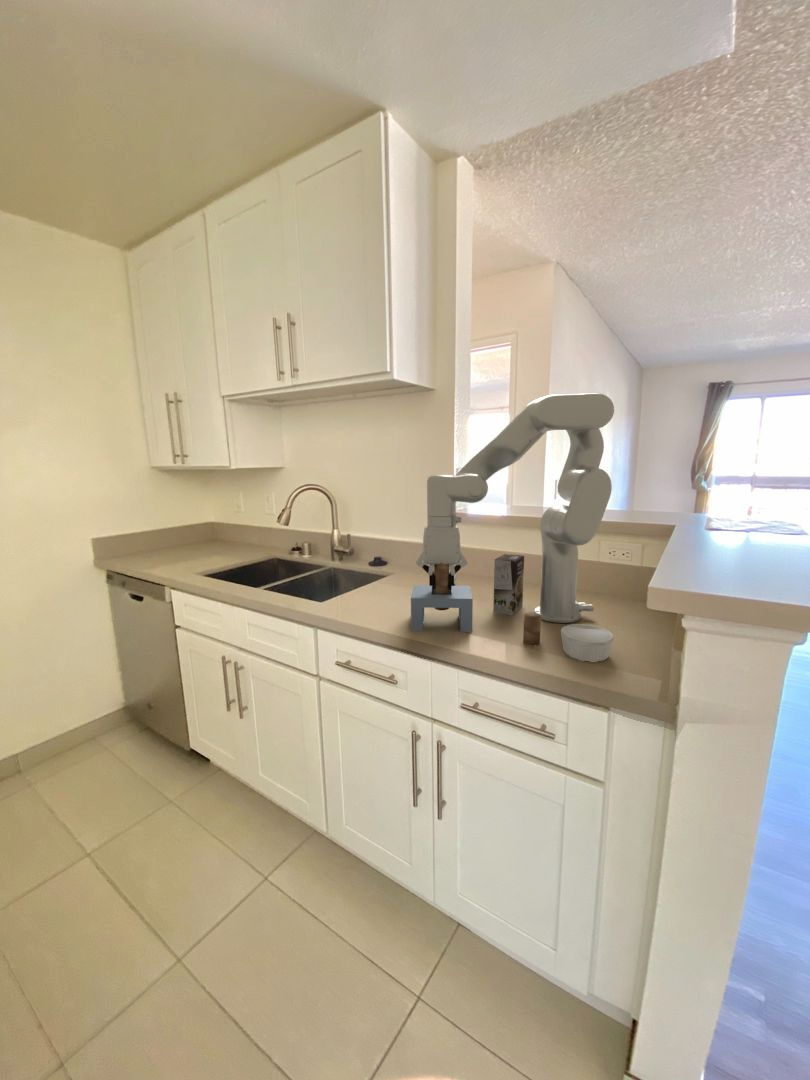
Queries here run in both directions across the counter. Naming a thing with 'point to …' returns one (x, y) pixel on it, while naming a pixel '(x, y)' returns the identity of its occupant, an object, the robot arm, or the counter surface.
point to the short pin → (532, 628)
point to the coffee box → (508, 584)
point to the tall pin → (441, 580)
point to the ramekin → (586, 642)
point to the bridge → (441, 605)
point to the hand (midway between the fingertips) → (441, 587)
